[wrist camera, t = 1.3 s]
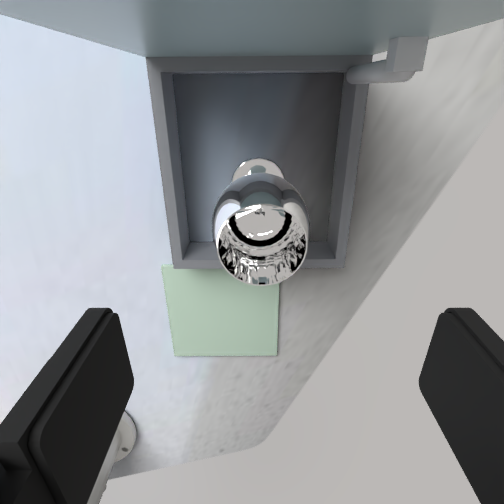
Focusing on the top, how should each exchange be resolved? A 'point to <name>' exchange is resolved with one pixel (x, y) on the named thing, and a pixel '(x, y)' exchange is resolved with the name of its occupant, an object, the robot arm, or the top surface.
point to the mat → (220, 314)
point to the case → (263, 70)
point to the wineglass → (260, 225)
